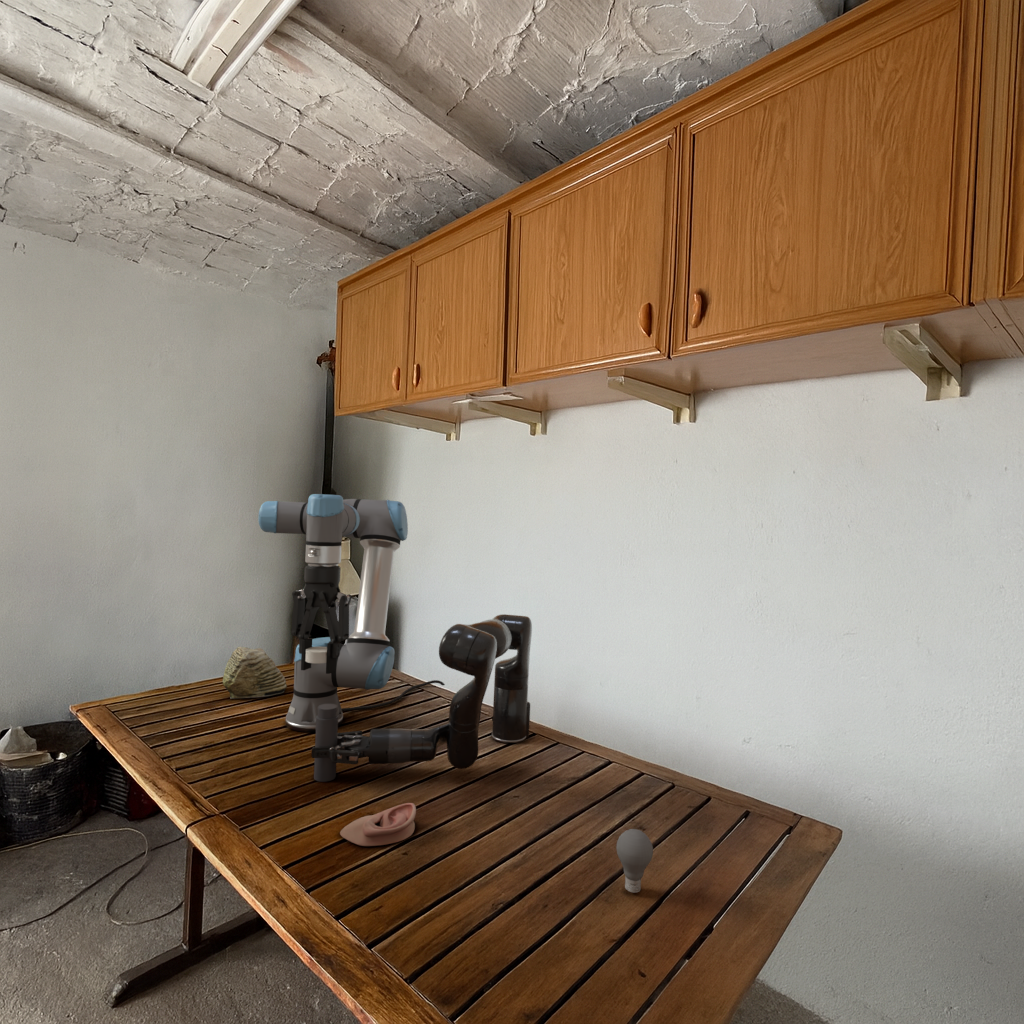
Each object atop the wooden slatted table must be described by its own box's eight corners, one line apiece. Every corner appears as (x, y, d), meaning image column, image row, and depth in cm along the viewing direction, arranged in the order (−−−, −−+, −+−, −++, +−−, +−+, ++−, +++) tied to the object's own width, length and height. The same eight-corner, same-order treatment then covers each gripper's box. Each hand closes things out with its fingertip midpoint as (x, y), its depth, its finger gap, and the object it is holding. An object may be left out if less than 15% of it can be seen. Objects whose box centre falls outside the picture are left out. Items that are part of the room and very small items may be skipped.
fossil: (218, 695, 195) (220, 647, 195) (278, 685, 208) (279, 640, 207) (228, 703, 189) (230, 653, 188) (289, 692, 201) (290, 645, 201)
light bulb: (610, 879, 108) (613, 822, 108) (644, 879, 109) (647, 822, 109) (619, 902, 102) (622, 840, 102) (655, 901, 103) (658, 840, 103)
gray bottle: (327, 770, 146) (330, 701, 146) (340, 777, 143) (342, 706, 143) (309, 777, 143) (312, 706, 142) (322, 783, 140) (324, 711, 139)
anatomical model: (332, 820, 116) (360, 792, 128) (332, 841, 116) (359, 811, 128) (400, 830, 114) (422, 801, 125) (400, 852, 114) (421, 821, 125)
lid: (322, 664, 135) (322, 653, 135) (300, 661, 137) (300, 650, 137) (337, 659, 140) (337, 648, 140) (315, 656, 142) (316, 645, 142)
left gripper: (275, 563, 138) (271, 669, 138) (351, 569, 132) (346, 679, 132) (297, 560, 145) (292, 662, 145) (369, 566, 139) (364, 671, 139)
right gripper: (391, 718, 152) (318, 720, 149) (390, 741, 138) (309, 743, 135) (390, 749, 152) (317, 751, 150) (389, 775, 138) (308, 778, 135)
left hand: (318, 670), depth 139 cm, fingers closed on lid, 6 cm apart
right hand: (313, 747), depth 142 cm, fingers closed on gray bottle, 4 cm apart
